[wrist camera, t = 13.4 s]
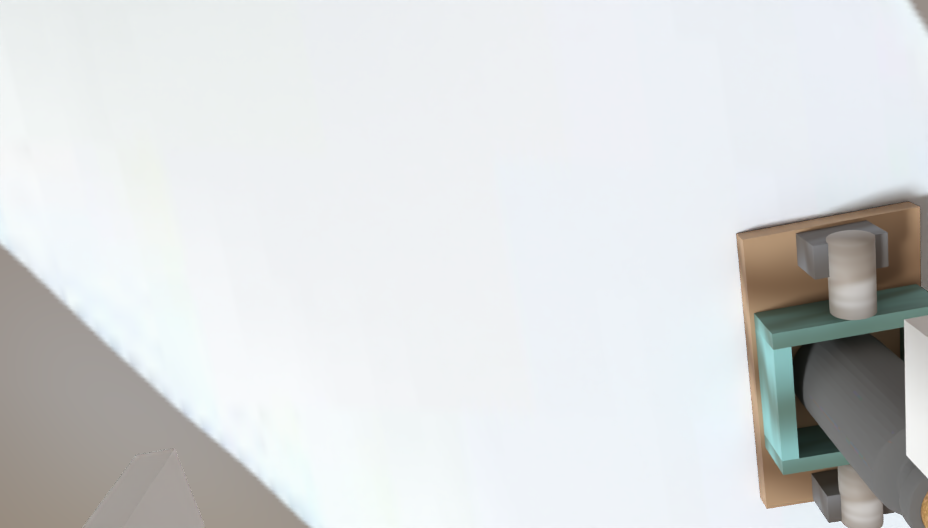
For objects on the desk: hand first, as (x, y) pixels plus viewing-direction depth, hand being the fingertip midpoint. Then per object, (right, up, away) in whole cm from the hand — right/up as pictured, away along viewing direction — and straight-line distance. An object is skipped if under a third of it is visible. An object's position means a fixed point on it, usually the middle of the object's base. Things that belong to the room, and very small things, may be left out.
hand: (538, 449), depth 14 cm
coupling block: (+22, -3, +34) cm, 41 cm away
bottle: (+22, -3, +33) cm, 40 cm away
